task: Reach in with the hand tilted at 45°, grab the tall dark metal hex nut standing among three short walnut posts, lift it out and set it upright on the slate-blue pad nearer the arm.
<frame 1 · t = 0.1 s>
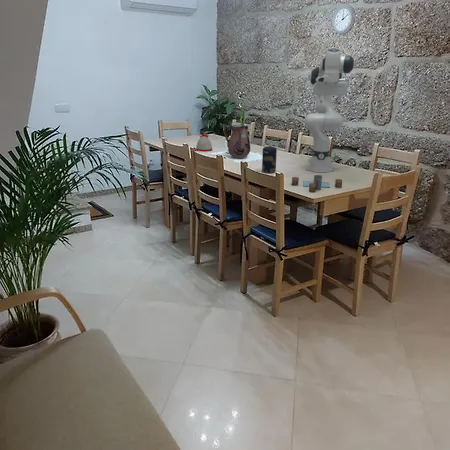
hand: (328, 103, 255), 48 cm above the table, tool pointing down, fingers open, 8 cm apart
bell with red bow: (204, 150, 369), on the table
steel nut: (316, 189, 254), on the table
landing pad: (316, 184, 264), on the table
spacer posts: (316, 187, 258), on the table
ceramic pitcher: (236, 157, 340), on the table
canister: (268, 172, 294), on the table
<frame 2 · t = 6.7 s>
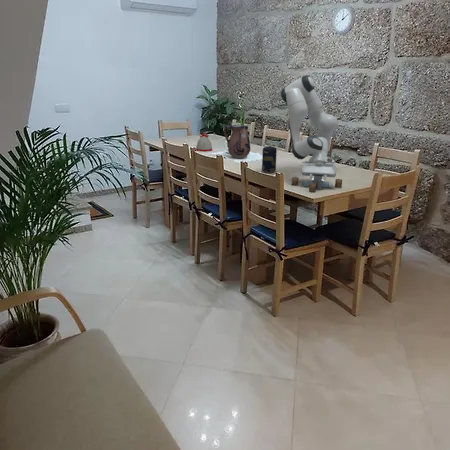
hand: (317, 181, 252), 5 cm above the table, tool tilted 45°, fingers closed on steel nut, 5 cm apart
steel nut: (317, 189, 254), on the table, touching gripper
everything else where it was.
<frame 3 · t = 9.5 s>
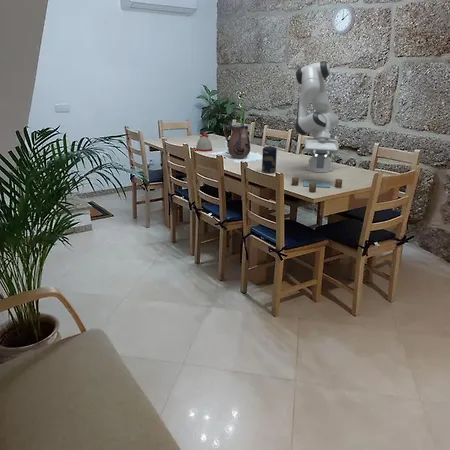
hand: (320, 157, 257), 17 cm above the table, tool tilted 45°, fingers closed on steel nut, 4 cm apart
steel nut: (319, 167, 260), point 11 cm above the table, touching gripper
everything else where it was.
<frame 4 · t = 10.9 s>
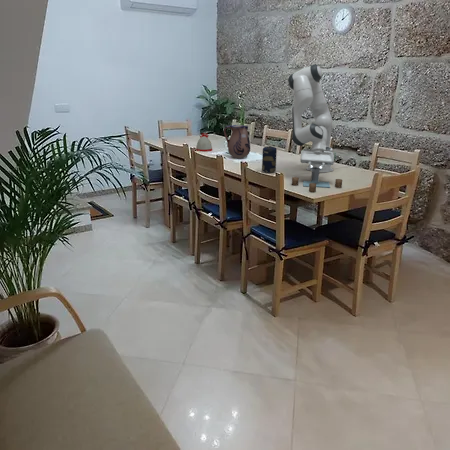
hand: (315, 169, 260), 10 cm above the table, tool tilted 45°, fingers closed on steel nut, 4 cm apart
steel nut: (314, 180, 263), point 2 cm above the table, touching gripper
everything else where it was.
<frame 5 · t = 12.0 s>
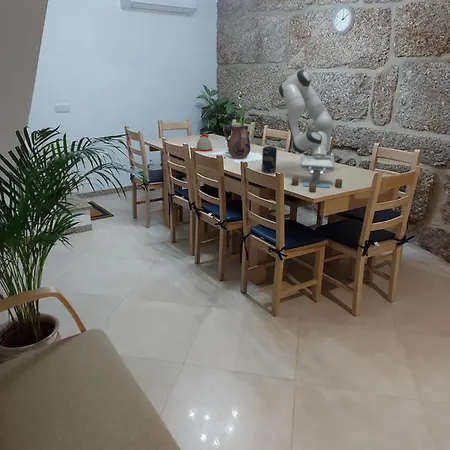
hand: (316, 174, 260), 7 cm above the table, tool tilted 45°, fingers closed on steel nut, 5 cm apart
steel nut: (314, 183, 264), point 1 cm above the table, touching gripper, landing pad
everything else where it was.
when the fingers open (7 cm above the table, at t = 12.0 s): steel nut stays where it is, resting on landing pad.
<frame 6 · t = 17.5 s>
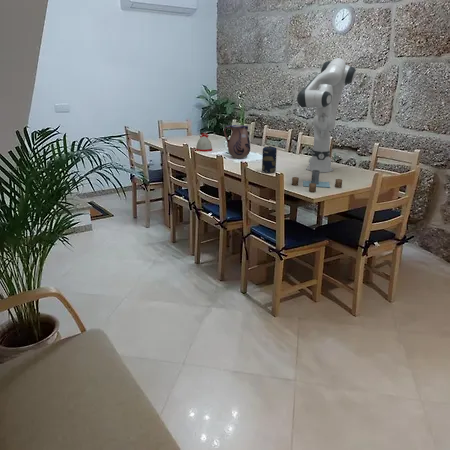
hand: (321, 135, 260), 29 cm above the table, tool pointing down, fingers open, 8 cm apart
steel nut: (314, 183, 264), point 1 cm above the table, touching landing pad
everything else where it was.
at the end: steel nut inside the target area on the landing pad (0.9 cm from its centre), point 0.6 cm above the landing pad's base; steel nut tilted 0°; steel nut touching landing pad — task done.
